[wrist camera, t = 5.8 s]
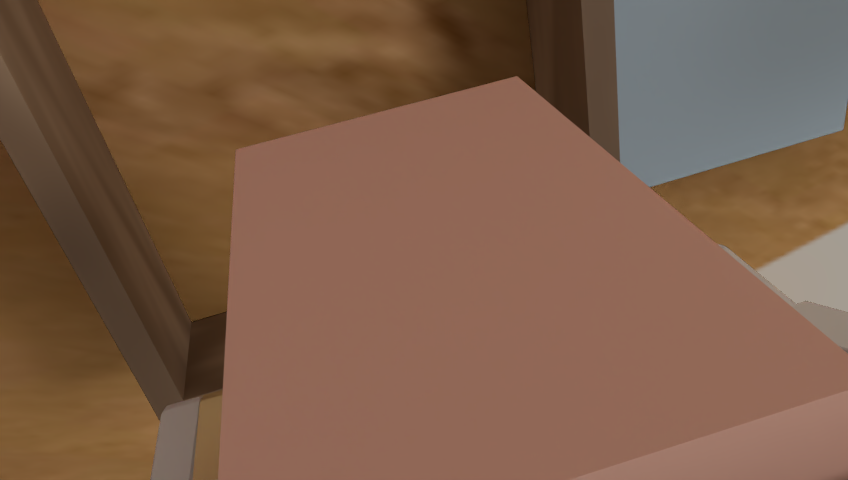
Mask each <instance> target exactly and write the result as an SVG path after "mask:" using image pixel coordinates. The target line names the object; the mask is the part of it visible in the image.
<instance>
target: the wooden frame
mask: <svg viewBox="0 0 848 480" xmlns="http://www.w3.org/2000/svg"><path fill="white" fill-rule="evenodd" d="M526 1H527V11H528V20H529V30H530V40H531V49H532V59H533V68H534V78H535V87H536V92H537V93H538V94H539V95H540V96H541V97H543V98H544V99H545V100H546V101H547V102H549V103H550V104H551V105H552V106H553V107H555V108H556V109H557V110H558V111H559V112H561V113H562V114H563V115H564V116H565V117H566V118H568V119H569V120H570V121H571V122H572V123H574V124H575V125H576V126H577V127H578V128H580V129H581V130H582V131H583V132H584V133H586V134H587V135H588V136H589V137H590V138H591V139H593V140H594V141H595V142H596V143H597V144H599V145H600V146H601V147H602V148H603V149H605V150H606V151H607V152H608V153H609V154H611V155H612V156H613V157H614V158H615V159H616V160H618V161H619V162H620V147H619V120H618V94H617V68H616V41H615V15H614V0H526ZM0 140H1V142H2V143H3V145H4V147H5V149H6V150H7V152H8V154H9V156H10V157H11V159H12V161H13V163H14V164H15V166H16V168H17V170H18V172H19V173H20V175H21V177H22V179H23V180H24V182H25V184H26V186H27V187H28V189H29V191H30V193H31V194H32V196H33V198H34V200H35V202H36V203H37V205H38V207H39V209H40V210H41V212H42V214H43V216H44V217H45V219H46V221H47V223H48V224H49V226H50V228H51V230H52V232H53V233H54V235H55V237H56V239H57V240H58V242H59V244H60V246H61V247H62V249H63V251H64V253H65V254H66V256H67V258H68V260H69V262H70V263H71V265H72V267H73V269H74V270H75V272H76V274H77V276H78V277H79V279H80V281H81V283H82V284H83V286H84V288H85V290H86V292H87V293H88V295H89V297H90V299H91V300H92V302H93V304H94V306H95V307H96V309H97V311H98V313H99V314H100V316H101V318H102V320H103V322H104V323H105V325H106V327H107V329H108V330H109V332H110V334H111V336H112V337H113V339H114V341H115V343H116V344H117V346H118V348H119V350H120V351H121V353H122V355H123V357H124V359H125V360H126V362H127V364H128V366H129V367H130V369H131V371H132V373H133V374H134V376H135V378H136V380H137V381H138V383H139V385H140V387H141V389H142V390H143V392H144V394H145V396H146V397H147V399H148V401H149V403H150V404H151V406H152V408H153V410H154V411H155V413H156V415H157V417H158V419H159V420H160V418H161V414H162V412H163V411H164V409H165V408H166V406H167V405H171V404H175V403H178V402H182V401H185V400H189V399H193V398H196V397H201V396H203V395H205V394H209V393H213V392H216V391H220V390H223V377H224V358H225V339H226V321H227V312H225V313H222V314H218V315H215V316H211V317H208V318H205V319H201V320H198V321H194V322H191V321H190V319H189V316H188V314H187V312H186V310H185V308H184V306H183V304H182V302H181V300H180V298H179V296H178V293H177V291H176V289H175V287H174V285H173V283H172V281H171V279H170V277H169V275H168V273H167V270H166V268H165V266H164V264H163V262H162V260H161V258H160V256H159V254H158V252H157V250H156V248H155V245H154V243H153V241H152V239H151V237H150V235H149V233H148V231H147V229H146V227H145V225H144V222H143V220H142V218H141V216H140V214H139V212H138V210H137V208H136V206H135V204H134V202H133V199H132V197H131V195H130V193H129V191H128V189H127V187H126V185H125V183H124V181H123V179H122V176H121V174H120V172H119V170H118V168H117V166H116V164H115V162H114V160H113V158H112V156H111V153H110V151H109V149H108V147H107V145H106V143H105V141H104V139H103V137H102V135H101V133H100V130H99V128H98V126H97V124H96V122H95V120H94V118H93V116H92V114H91V112H90V110H89V107H88V105H87V103H86V101H85V99H84V97H83V95H82V93H81V91H80V89H79V87H78V84H77V82H76V80H75V78H74V76H73V74H72V72H71V70H70V68H69V66H68V64H67V61H66V59H65V57H64V55H63V53H62V51H61V49H60V47H59V45H58V43H57V41H56V38H55V36H54V34H53V32H52V30H51V28H50V26H49V24H48V22H47V20H46V18H45V15H44V13H43V11H42V9H41V7H40V5H39V3H38V1H37V0H0Z"/></svg>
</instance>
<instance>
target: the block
mask: <svg viewBox="0 0 848 480" xmlns="http://www.w3.org/2000/svg"><path fill="white" fill-rule="evenodd" d="M218 480H848V354H847V353H846V352H845V351H844V350H843V349H842V348H840V347H839V346H838V345H837V344H836V343H834V342H833V341H832V340H831V339H830V338H828V337H827V336H826V335H825V334H824V333H822V332H821V331H820V330H819V329H818V328H817V327H815V326H814V325H813V324H812V323H811V322H809V321H808V320H807V319H806V318H805V317H803V316H802V315H801V314H800V313H799V312H797V311H796V310H795V309H794V308H793V307H792V306H790V305H789V304H788V303H787V302H786V301H784V300H783V299H782V298H781V297H780V296H778V295H777V294H776V293H775V292H774V291H772V290H771V289H770V288H769V287H768V286H766V285H765V284H764V283H763V282H762V281H761V280H759V279H758V278H757V277H756V276H755V275H753V274H752V273H751V272H750V271H749V270H747V269H746V268H745V267H744V266H743V265H741V264H740V263H739V262H738V261H737V260H736V259H734V258H733V257H732V256H731V255H730V254H728V253H727V252H726V251H725V250H724V249H722V248H721V247H720V246H719V245H718V244H716V243H715V242H714V241H713V240H712V239H711V238H709V237H708V236H707V235H706V234H705V233H703V232H702V231H701V230H700V229H699V228H697V227H696V226H695V225H694V224H693V223H691V222H690V221H689V220H688V219H687V218H686V217H684V216H683V215H682V214H681V213H680V212H678V211H677V210H676V209H675V208H674V207H672V206H671V205H670V204H669V203H668V202H666V201H665V200H664V199H663V198H662V197H661V196H659V195H658V194H657V193H656V192H655V191H653V190H652V189H651V188H650V187H649V186H647V185H646V184H645V183H644V182H643V181H641V180H640V179H639V178H638V177H637V176H636V175H634V174H633V173H632V172H631V171H630V170H628V169H627V168H626V167H625V166H624V165H622V164H621V163H620V162H619V161H618V160H616V159H615V158H614V157H613V156H612V155H611V154H609V153H608V152H607V151H606V150H605V149H603V148H602V147H601V146H600V145H599V144H597V143H596V142H595V141H594V140H593V139H591V138H590V137H589V136H588V135H587V134H586V133H584V132H583V131H582V130H581V129H580V128H578V127H577V126H576V125H575V124H574V123H572V122H571V121H570V120H569V119H568V118H566V117H565V116H564V115H563V114H562V113H561V112H559V111H558V110H557V109H556V108H555V107H553V106H552V105H551V104H550V103H549V102H547V101H546V100H545V99H544V98H543V97H541V96H540V95H539V94H538V93H537V92H535V91H534V90H533V89H532V88H531V87H530V86H528V85H527V84H526V83H525V82H524V81H522V80H521V79H520V78H519V77H518V76H515V77H512V78H508V79H504V80H500V81H496V82H492V83H489V84H485V85H481V86H477V87H473V88H470V89H466V90H462V91H458V92H454V93H450V94H447V95H443V96H439V97H435V98H431V99H427V100H424V101H420V102H416V103H412V104H408V105H404V106H401V107H397V108H393V109H389V110H385V111H382V112H378V113H374V114H370V115H366V116H362V117H359V118H355V119H351V120H347V121H343V122H339V123H336V124H332V125H328V126H324V127H320V128H316V129H313V130H309V131H305V132H301V133H297V134H294V135H290V136H286V137H282V138H278V139H274V140H271V141H267V142H263V143H259V144H255V145H251V146H248V147H244V148H240V149H236V154H235V173H234V191H233V210H232V228H231V247H230V265H229V284H228V302H227V321H226V339H225V358H224V377H223V395H222V414H221V432H220V451H219V469H218Z"/></svg>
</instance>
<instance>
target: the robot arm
mask: <svg viewBox="0 0 848 480" xmlns="http://www.w3.org/2000/svg"><path fill="white" fill-rule="evenodd" d="M718 245H719V246H720V247H721V248H722V249H724V250H725V251H726V252H727V253H728V254H730V255H731V256H732V257H733V258H734V259H736V260H737V261H738V262H739V263H740V264H741V265H743V266H744V267H745V268H746V269H747V270H749V271H750V272H751V273H752V274H753V275H755V276H756V277H757V278H758V279H759V280H761V281H762V282H763V283H764V284H765V285H766V286H768V287H769V288H770V289H771V290H772V291H774V292H775V293H776V294H777V295H778V296H780V297H781V298H782V299H783V300H784V301H786V302H787V303H788V304H789V305H790V306H792V307H793V308H794V309H795V310H796V311H797V312H799V313H800V314H801V315H802V316H803V317H805V318H806V319H807V320H808V321H809V322H811V323H812V324H813V325H814V326H815V327H817V328H818V329H819V330H820V331H821V332H822V333H824V334H825V335H826V336H827V337H828V338H830V339H831V340H832V341H833V342H834V343H836V344H837V345H838V346H839V347H840V348H842V349H843V350H844V351H845V352H846V353H847V354H848V312H845V311H841V310H838V309H834V308H830V307H826V306H823V305H819V304H816V303H812V302H808V301H804V302H801V303H797V304H796V303H794V302H793V301H792V300H791V299H790V298H788V297H787V296H786V295H785V294H783V293H782V292H781V291H780V290H778V289H777V288H776V287H775V286H774V285H772V284H771V283H770V282H769V281H767V280H766V279H765V278H764V277H762V276H761V275H760V274H759V273H758V272H757V271H755V270H754V269H753V268H752V267H750V266H749V265H748V264H747V263H746V262H744V261H743V260H742V259H741V258H739V257H738V256H737V255H736V254H734V253H733V252H732V251H731V250H730V249H728V248H727V247H726V246H724V245H720V244H718ZM222 395H223V390H220V391H216V392H213V393H209V394H205V395H203V396H201V397H196V398H193V399H189V400H185V401H182V402H178V403H175V404H171V405H167V406H166V408H165V409H164V411H163V412H162V414H161V418H160V425H159V431H158V437H157V443H156V449H155V455H154V461H153V467H152V473H151V479H150V480H218V469H219V451H220V432H221V414H222Z"/></svg>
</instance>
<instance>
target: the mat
mask: <svg viewBox="0 0 848 480" xmlns="http://www.w3.org/2000/svg"><path fill="white" fill-rule="evenodd" d="M614 15H615V41H616V68H617V94H618V120H619V147H620V163H621V164H622V165H624V166H625V167H626V168H627V169H628V170H630V171H631V172H632V173H633V174H634V175H636V176H637V177H638V178H639V179H640V180H641V181H643V182H644V183H645V184H646V185H647V186H649V187H652V186H655V185H659V184H662V183H666V182H669V181H672V180H676V179H679V178H683V177H686V176H689V175H693V174H696V173H699V172H703V171H706V170H710V169H713V168H716V167H720V166H723V165H726V164H730V163H733V162H737V161H740V160H743V159H747V158H750V157H754V156H757V155H760V154H764V153H767V152H770V151H774V150H777V149H781V148H784V147H787V146H791V145H794V144H797V143H801V142H804V141H808V140H811V139H814V138H818V137H821V136H825V135H828V134H831V133H835V132H838V131H841V130H843V128H844V122H845V115H846V109H847V102H848V0H614Z"/></svg>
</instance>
